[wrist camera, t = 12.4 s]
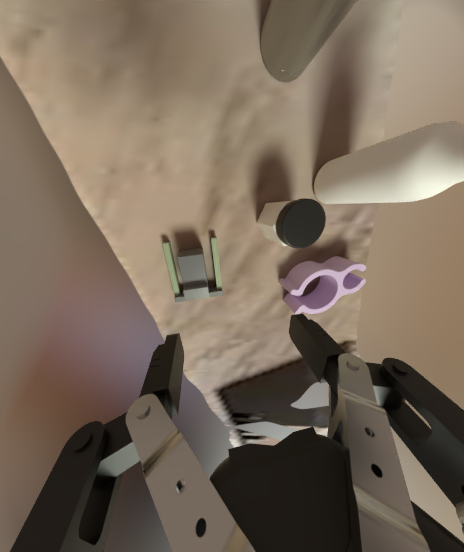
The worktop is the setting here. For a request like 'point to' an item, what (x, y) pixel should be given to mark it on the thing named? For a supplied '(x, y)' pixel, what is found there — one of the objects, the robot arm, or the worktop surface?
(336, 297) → the clip
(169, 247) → the deck socket
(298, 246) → the jar
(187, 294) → the upright grey block
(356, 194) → the alcohol
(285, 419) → the worktop surface
